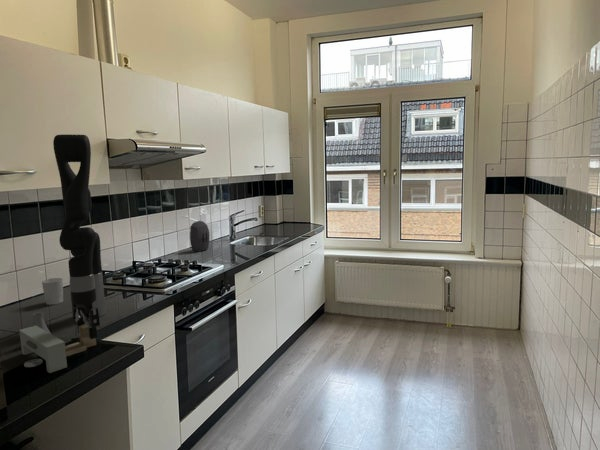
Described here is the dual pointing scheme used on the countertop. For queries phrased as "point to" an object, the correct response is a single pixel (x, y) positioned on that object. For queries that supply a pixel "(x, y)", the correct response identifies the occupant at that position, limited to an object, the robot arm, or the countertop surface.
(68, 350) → the brown block
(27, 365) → the disc
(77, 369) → the countertop surface
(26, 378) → the countertop surface
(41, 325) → the flask
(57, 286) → the white cup
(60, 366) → the low white stool
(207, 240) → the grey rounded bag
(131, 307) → the countertop surface
